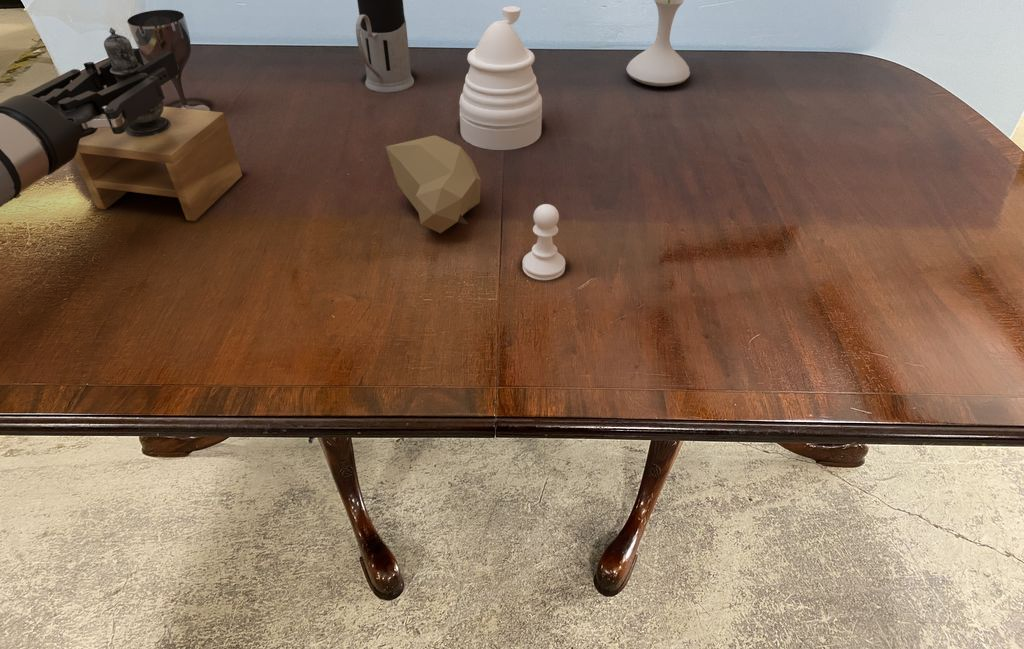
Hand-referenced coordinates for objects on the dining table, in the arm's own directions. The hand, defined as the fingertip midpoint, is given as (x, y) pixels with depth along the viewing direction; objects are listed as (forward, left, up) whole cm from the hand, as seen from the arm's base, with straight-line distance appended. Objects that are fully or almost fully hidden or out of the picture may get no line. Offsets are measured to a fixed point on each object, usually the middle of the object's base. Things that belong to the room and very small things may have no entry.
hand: (156, 61), depth 84 cm
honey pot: (+39, +24, -16) cm, 49 cm away
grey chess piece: (0, -5, -6) cm, 8 cm away
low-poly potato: (+37, -3, -16) cm, 41 cm away
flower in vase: (+62, +50, -16) cm, 81 cm away
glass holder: (+15, +36, -16) cm, 42 cm away
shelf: (0, -5, -16) cm, 17 cm away
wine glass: (-13, +19, -16) cm, 28 cm away
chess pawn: (+52, -11, -16) cm, 56 cm away
